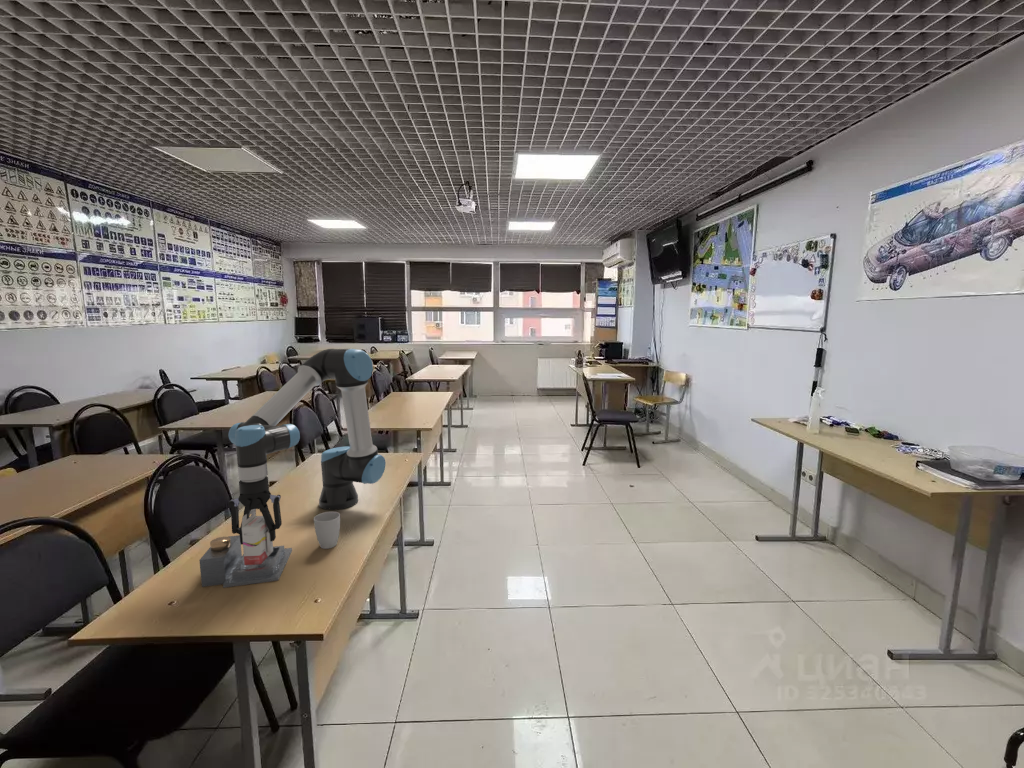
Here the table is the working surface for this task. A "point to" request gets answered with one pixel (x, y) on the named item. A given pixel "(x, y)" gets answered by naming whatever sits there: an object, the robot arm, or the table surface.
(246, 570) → the grey stepped base
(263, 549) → the ink cartridge box
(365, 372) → the robot arm
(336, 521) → the cup
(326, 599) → the table surface
